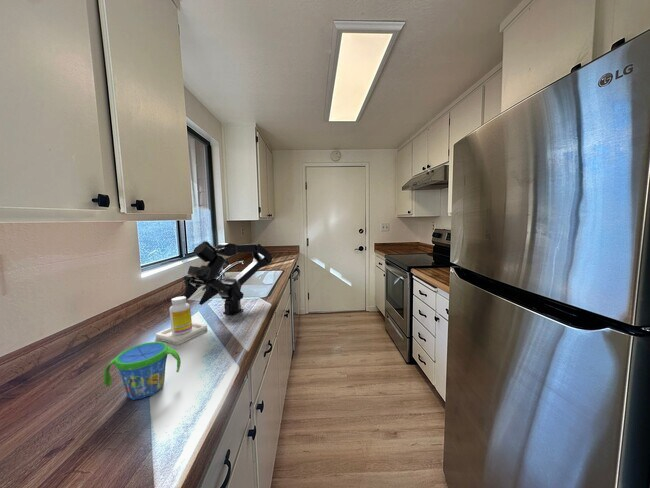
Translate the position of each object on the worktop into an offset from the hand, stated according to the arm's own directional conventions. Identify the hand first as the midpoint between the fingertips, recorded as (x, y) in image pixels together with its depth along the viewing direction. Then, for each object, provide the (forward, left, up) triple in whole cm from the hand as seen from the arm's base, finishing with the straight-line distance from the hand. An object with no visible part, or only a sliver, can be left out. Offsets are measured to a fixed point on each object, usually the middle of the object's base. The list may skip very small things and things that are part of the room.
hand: (191, 302), depth 96 cm
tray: (+5, 0, -11) cm, 12 cm away
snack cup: (+29, +21, -11) cm, 37 cm away
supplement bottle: (+5, 0, -10) cm, 11 cm away
